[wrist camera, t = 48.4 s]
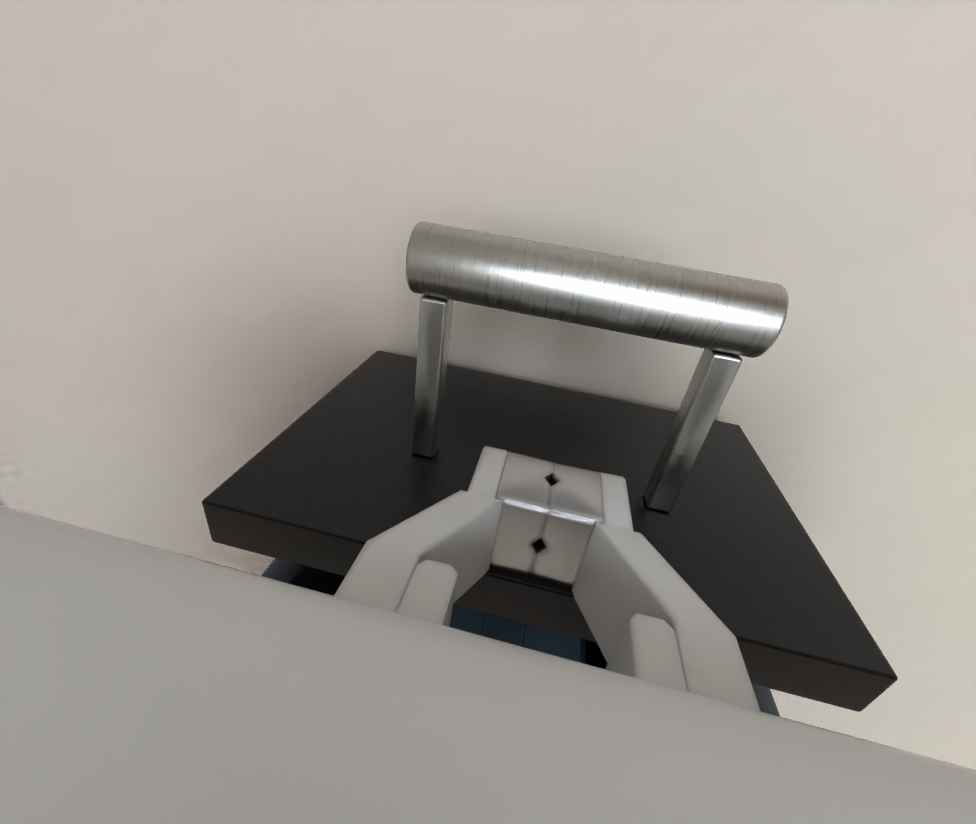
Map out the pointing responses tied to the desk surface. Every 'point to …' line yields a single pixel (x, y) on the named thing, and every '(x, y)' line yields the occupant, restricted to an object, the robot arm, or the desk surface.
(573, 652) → the cup
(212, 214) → the desk surface
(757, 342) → the drawer
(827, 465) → the desk surface
